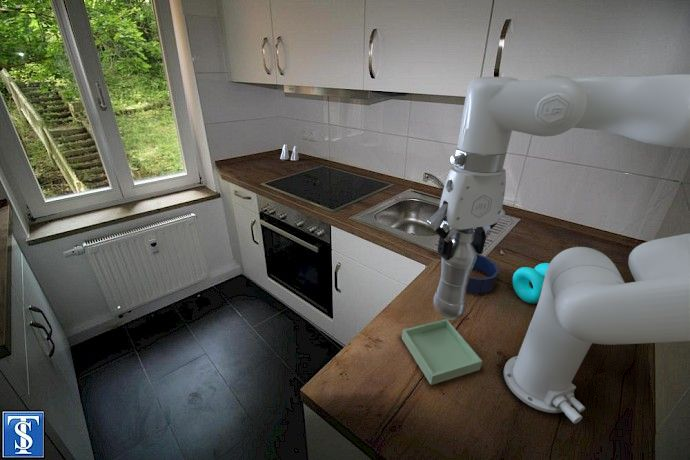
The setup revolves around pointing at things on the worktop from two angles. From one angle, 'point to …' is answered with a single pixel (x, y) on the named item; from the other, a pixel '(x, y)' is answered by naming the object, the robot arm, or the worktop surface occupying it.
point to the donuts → (522, 282)
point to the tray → (440, 351)
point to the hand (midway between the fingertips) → (459, 252)
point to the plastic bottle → (455, 276)
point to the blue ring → (483, 283)
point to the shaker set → (286, 155)
